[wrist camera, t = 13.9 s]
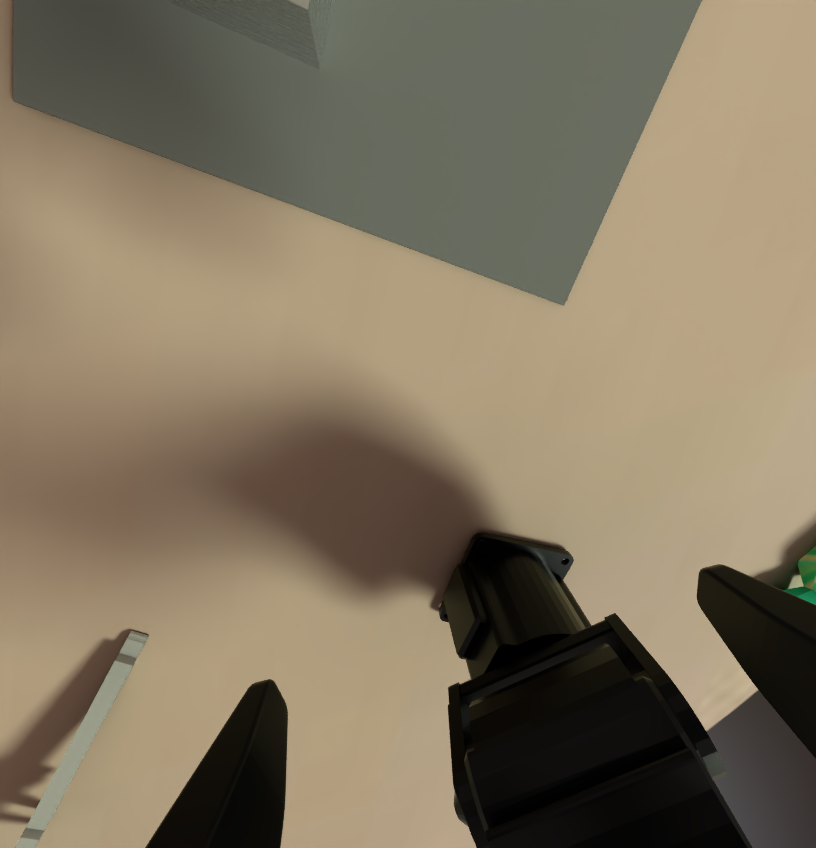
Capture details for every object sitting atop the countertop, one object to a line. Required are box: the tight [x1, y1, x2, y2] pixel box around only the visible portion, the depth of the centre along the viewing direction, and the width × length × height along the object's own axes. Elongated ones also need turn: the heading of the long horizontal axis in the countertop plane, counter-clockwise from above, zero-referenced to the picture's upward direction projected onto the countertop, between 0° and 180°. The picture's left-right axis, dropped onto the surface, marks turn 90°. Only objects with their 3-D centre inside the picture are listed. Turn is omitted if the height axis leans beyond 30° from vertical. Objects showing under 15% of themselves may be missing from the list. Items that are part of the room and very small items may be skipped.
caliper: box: [15, 631, 149, 848], centre depth 24 cm, size 20×1×6 cm, turn 148°
